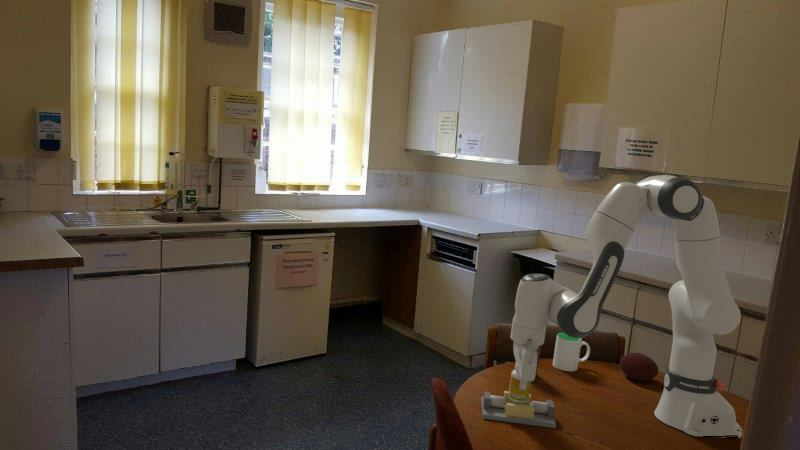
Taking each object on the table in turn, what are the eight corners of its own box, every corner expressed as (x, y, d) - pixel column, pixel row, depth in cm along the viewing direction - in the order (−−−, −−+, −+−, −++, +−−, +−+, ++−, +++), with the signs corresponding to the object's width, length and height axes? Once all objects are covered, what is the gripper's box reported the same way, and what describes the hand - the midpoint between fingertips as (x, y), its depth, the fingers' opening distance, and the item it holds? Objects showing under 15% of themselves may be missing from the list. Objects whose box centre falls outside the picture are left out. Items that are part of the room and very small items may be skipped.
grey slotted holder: (549, 409, 169) (551, 395, 169) (555, 428, 159) (557, 413, 158) (481, 400, 171) (482, 386, 170) (482, 418, 160) (484, 403, 159)
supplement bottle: (528, 404, 161) (533, 370, 159) (507, 400, 162) (512, 366, 161) (528, 396, 166) (533, 362, 165) (508, 392, 167) (513, 359, 166)
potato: (614, 369, 206) (617, 346, 205) (647, 373, 206) (651, 349, 204) (625, 383, 194) (629, 358, 193) (660, 387, 194) (664, 362, 193)
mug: (580, 362, 210) (584, 333, 208) (592, 371, 202) (597, 341, 200) (548, 361, 207) (552, 332, 205) (559, 371, 199) (563, 340, 198)
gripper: (545, 349, 151) (537, 401, 153) (534, 323, 171) (528, 370, 173) (519, 345, 151) (512, 398, 153) (512, 321, 171) (506, 367, 174)
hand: (520, 383), depth 163 cm, fingers closed on supplement bottle, 5 cm apart
